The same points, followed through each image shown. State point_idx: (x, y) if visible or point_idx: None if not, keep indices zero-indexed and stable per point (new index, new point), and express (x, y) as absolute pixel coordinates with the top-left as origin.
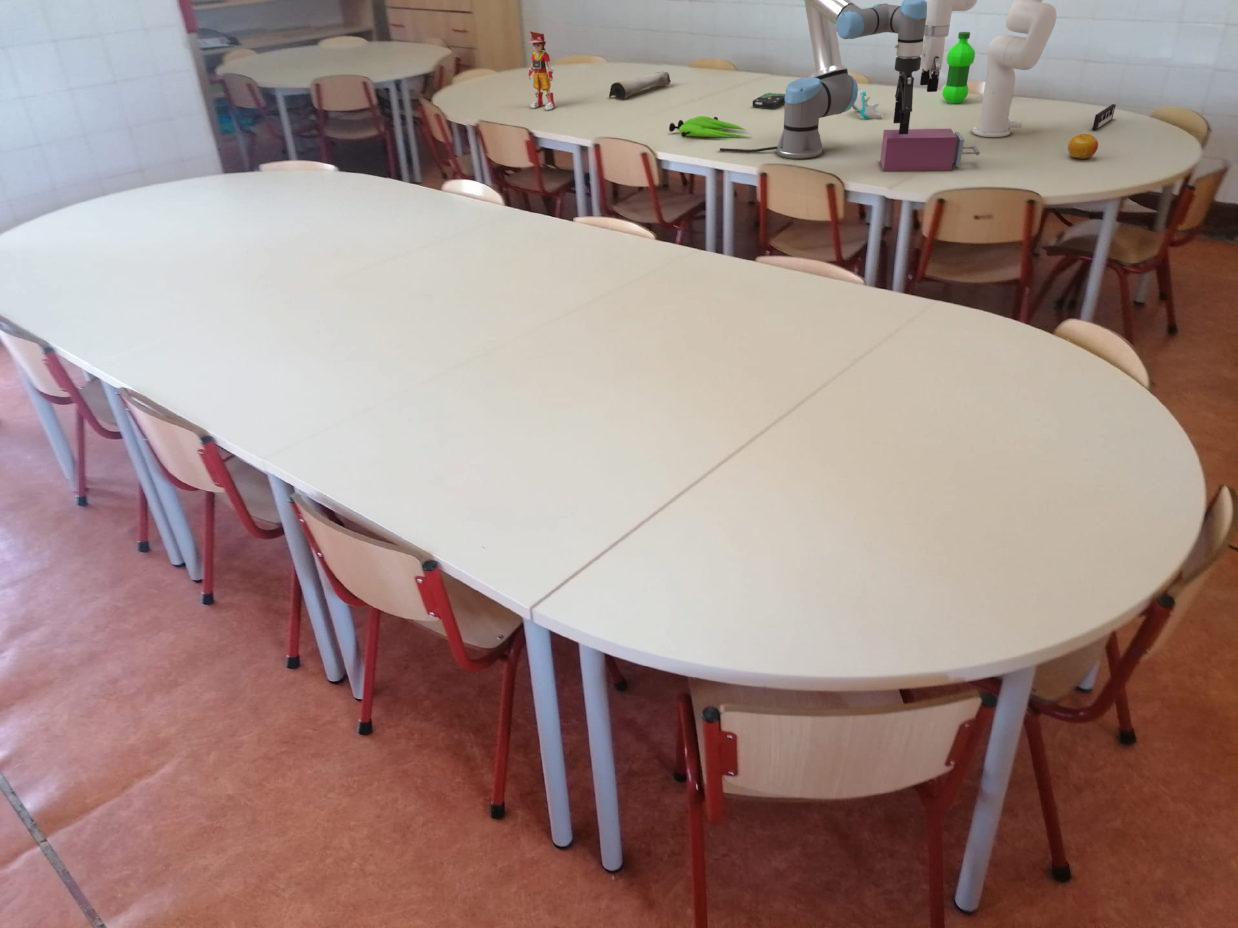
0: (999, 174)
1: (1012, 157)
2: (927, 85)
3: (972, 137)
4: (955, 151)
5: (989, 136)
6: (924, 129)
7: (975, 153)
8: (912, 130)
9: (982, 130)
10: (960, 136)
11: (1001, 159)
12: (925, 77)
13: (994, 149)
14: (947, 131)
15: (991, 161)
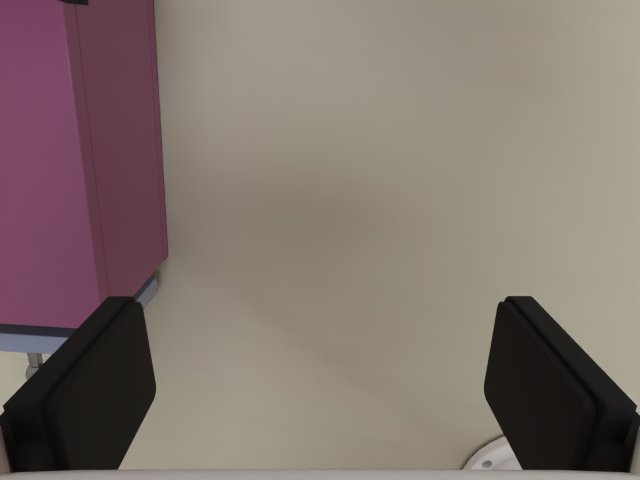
0: (5, 389)
1: (213, 468)
2: (90, 335)
3: (488, 416)
4: None
5: (466, 466)
6: (72, 176)
7: (32, 363)
8: (36, 85)
9: (511, 464)
10: (14, 346)
11: (189, 435)
12: (538, 405)
13: (315, 443)
14: (33, 299)
15: (165, 402)
